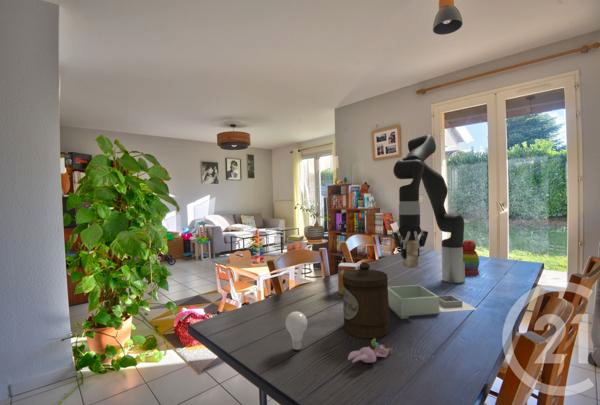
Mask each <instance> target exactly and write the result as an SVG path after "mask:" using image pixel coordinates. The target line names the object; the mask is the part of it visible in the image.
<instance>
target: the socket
mask: <svg viewBox="0 0 600 405" xmlns="http://www.w3.org/2000/svg"><path fill="white" fill-rule="evenodd" d="M437 296H438V297H439V312H441V313H447V312H460V311H461V312H463V311H475V310H476V311H477V310H478V309H477V308H476V307H474V306H472V305H470V304H469V303H467V302H466V301H463V300H462V299H459V298H458V297H456V296H454V295H452V294H449V295H448V294H446V295H445V294H444V295H443V294H442V295H437Z"/></svg>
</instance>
